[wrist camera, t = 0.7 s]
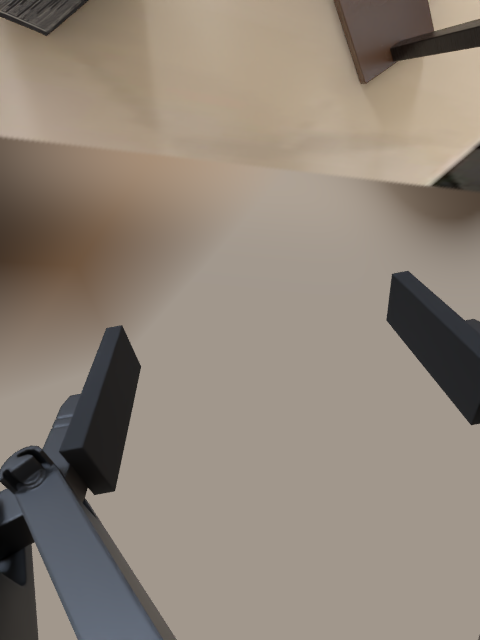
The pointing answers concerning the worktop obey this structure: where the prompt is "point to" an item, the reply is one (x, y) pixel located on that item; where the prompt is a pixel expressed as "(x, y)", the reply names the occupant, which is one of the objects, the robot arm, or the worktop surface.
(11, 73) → the worktop surface
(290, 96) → the worktop surface
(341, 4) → the clothes rail
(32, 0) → the small box
